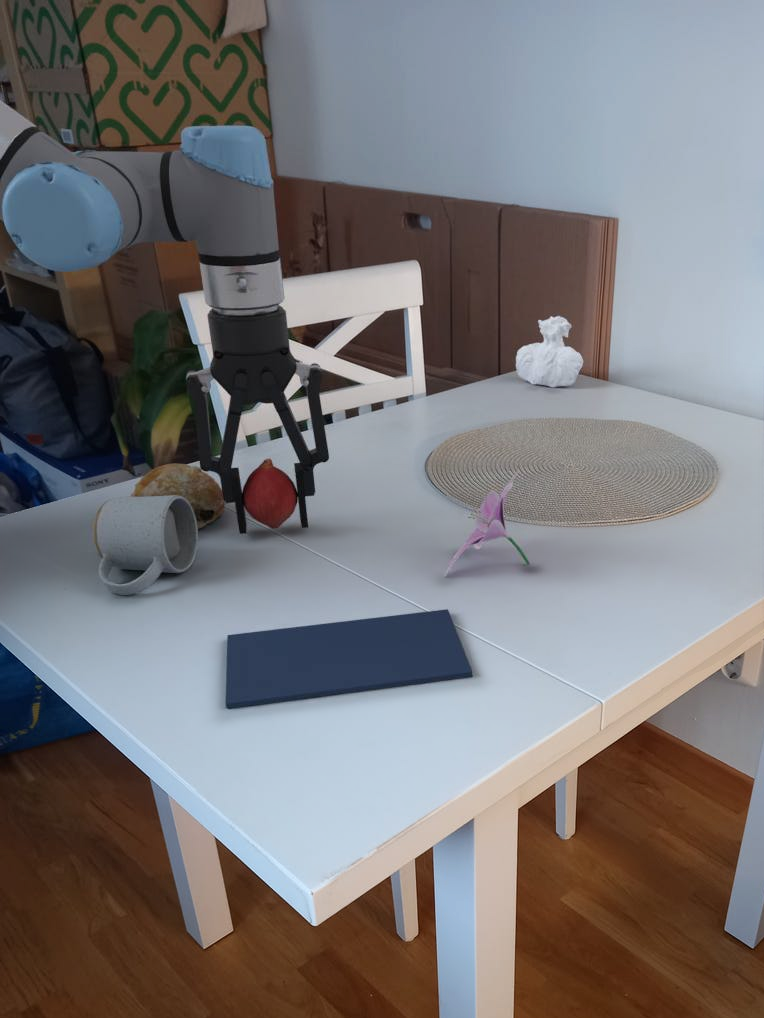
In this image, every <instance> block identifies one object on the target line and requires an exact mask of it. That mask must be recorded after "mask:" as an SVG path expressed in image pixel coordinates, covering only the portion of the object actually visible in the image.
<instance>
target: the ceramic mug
mask: <svg viewBox="0 0 764 1018" xmlns="http://www.w3.org/2000/svg"><path fill="white" fill-rule="evenodd" d="M92 525H93V526H92V537H93V538H92V539H93V543H94V546H95V550H96V552H97V554H98V556H99V557H100V558H101V560H100V563H99V566H98V576H99V578H100V581H101V583H102V584H103V585H104V586H105V588H106V589H107V590H108V591H109V592H111V593H113V594H115V595H118V596H133V595H136V594H139V593H141V592H144V591H145V590H148V588H150V586H152V585H153V584H154V583H155V582H156V580H157V579H158V578H159V577H160V575H161V574H162V573H167V574H168V573H169V574H181V573H184V572H186V571H188V570H189V568H191V566H192V565H193V563H194V560H195V559H196V556H197V551H198V545H199V529H197V521H196V517H195V514H194V511H193V509H192V507H191V505H190V503H189V502H188V501H187V500H186V499H185V498H184V497H182V496H179V495H168V496H147V497H130V496H123V497H117V498H113V499H109V500H107V501H105V502H104V503H102V504H101V506H100V507H99V509H98V510H97V512H96V514H95V517H94V520H93V524H92ZM112 567H114V568H117V569H122V570H129V571H131V570H132V571H144V572H143V574H141V575H140V576H139V577H137V578H136V579H133V580H132V581H129V582H127V583H121V584H120V583H118V584H117V583H116V582H114V581H110V579H109V576H110V572H111V570H112Z"/></svg>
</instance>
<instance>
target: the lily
mask: <svg viewBox="0 0 764 1018" xmlns="http://www.w3.org/2000/svg"><path fill="white" fill-rule="evenodd" d="M520 471H521V469H519V470H518V471H517V472H516V473H515V474H514V475H513V476H512V478H511V479H510V480H509V482H507V484H506V485H505V486H504V488H503V490H502V491H501V493H500V495H499V494H498V493H497V491H495V489H491V490H490V491H489V493H488V494H487V495H486V497H485V498H484V500H483V501H482V503H481V505H480V507H479V509H478V510H475V511H474V513H476V514H474V513H472V512H471V513H470V515H471V516H467V518H468V519H473V520H475V526H476V527H474V529H473V530H472V532H470V534H469V535H468V537H467V539H466V540H465V541H464V543H463V545H462V546H461V547H460V548H459V549H458V550H457V552H456V553H455V554H454V556H453V558H452V560H451V561H450V563H449V565H448V567H447V569H446V571H445V574H444V577H446V576H447V575H448V573H449V572H450V570H451V568H452V567H453V565H454V564H455V563H456V561H457V560H458V558H459V557H460V556H461V555H462V553H464V551H465V550H466V549H468V547H470V546H472V545H473V548H474V549H475V550H479V549H481V546H482V545H483V543H486V542H489V541H494V540H497V539H499V538H506V539H507V540H508V541H509V542H510V543H511V544H512V545H513V546H514V548H515V549H516V550H517V551H518V553H519V554H520V555H521V557H522V558H523V561H524V562H525V564H526V565H527V566H529V565H530V564H531V563H530V561H529V559H528V558H527V556H526V555H525V554H524V552H523V550H522V549H521V548H520V546H519V545H518V544H517V543H516V542H515V540H514V539H513V538H512V537H511V536H510V535H509V534H508V532H507V530H506V524H505V522H506V521H505V500H506V497H507V494H508V492H509V491H510V490H511V489H512V487H513V486H514V481H515V479H516V477H517V475H518V474H519V472H520Z"/></svg>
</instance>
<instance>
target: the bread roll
mask: <svg viewBox="0 0 764 1018" xmlns="http://www.w3.org/2000/svg"><path fill="white" fill-rule="evenodd" d="M168 495H179V496H182V497H184V498H185V499H186V500H187V501H188V502H189V503H190V505H191V507H192V509H193V511H194V514H195V517H196V521H197V529H198V530H201V529H202V528H203V527H205V526H207V525H209V524H211V523H213V522H215V520H216V519H218V518H220V517H222V515H223V514H224V512H225V508H226V502H225V501H224V499H223V493H222V487H221V485H219V483H218V482H217V481H216V480H215V478H214V477H212V476H211V475H209V474H208V473H207V472H205V471H203V470H202V469H201V468H200V466H197V465H189V464H186V463H177V462H176V463H174V462H173V463H166V464H162V465H159V466H157V467H155V468H153V469H152V470H150V471H148V472H147V473H145V474H144V475H143V476H142V477H141V478H140V480H139V481H137V482H136V483H135V485H134V491H133V493H131V494H130V496H129V497H147V496H168Z"/></svg>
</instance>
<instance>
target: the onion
mask: <svg viewBox="0 0 764 1018" xmlns="http://www.w3.org/2000/svg"><path fill="white" fill-rule="evenodd" d="M273 463H274V462H273V460H272V459H271V458H265V459H263V461H262V462H261V464H259V465H258V466H257V467H256V468H255V469H254V470H253V471H252V472H250V474H249V475H248V477H247V479H246V481H245V483H244V485H243V487H242V501H243V504H244V510H245V511H246V512H247V513H248V514H249V515H250V517H251V518H252V519H253V520H255V521H256V522H258V523H260V524H262V525H265V526H267V527H268V528H270V529H273V530H274V529H278V528H280V527H281V526H282V524H283V523H285V522H286V521H287V520H288V519H289V518H290V517H292V515H293V514H294V512H295V510H296V507H297V505H298V493H297V486H296V485H295V482H294V481H293V480H292V479H291V477H290V476H289V475H288V474H287V473H286V472H284V470H282V469H280V468H279V467H277V466H274V464H273Z"/></svg>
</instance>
